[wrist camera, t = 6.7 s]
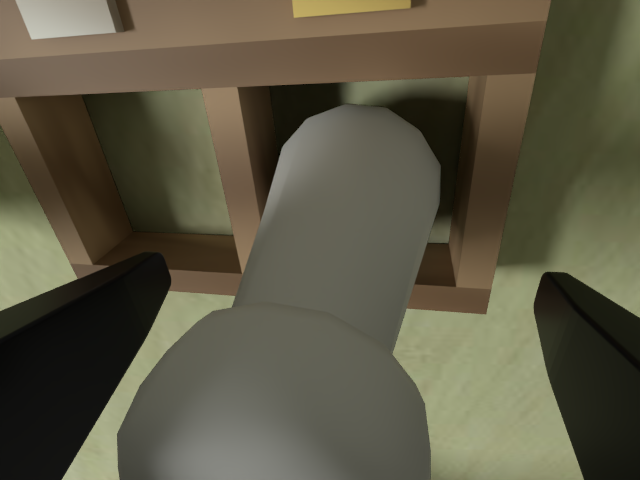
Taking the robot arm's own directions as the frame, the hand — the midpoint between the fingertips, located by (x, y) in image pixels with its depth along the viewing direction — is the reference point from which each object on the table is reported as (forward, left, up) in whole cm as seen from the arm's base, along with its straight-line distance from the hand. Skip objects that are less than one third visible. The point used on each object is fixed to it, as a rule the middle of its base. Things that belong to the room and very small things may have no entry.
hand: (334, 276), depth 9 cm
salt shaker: (0, 0, -8) cm, 8 cm away
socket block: (+2, +4, -7) cm, 9 cm away
